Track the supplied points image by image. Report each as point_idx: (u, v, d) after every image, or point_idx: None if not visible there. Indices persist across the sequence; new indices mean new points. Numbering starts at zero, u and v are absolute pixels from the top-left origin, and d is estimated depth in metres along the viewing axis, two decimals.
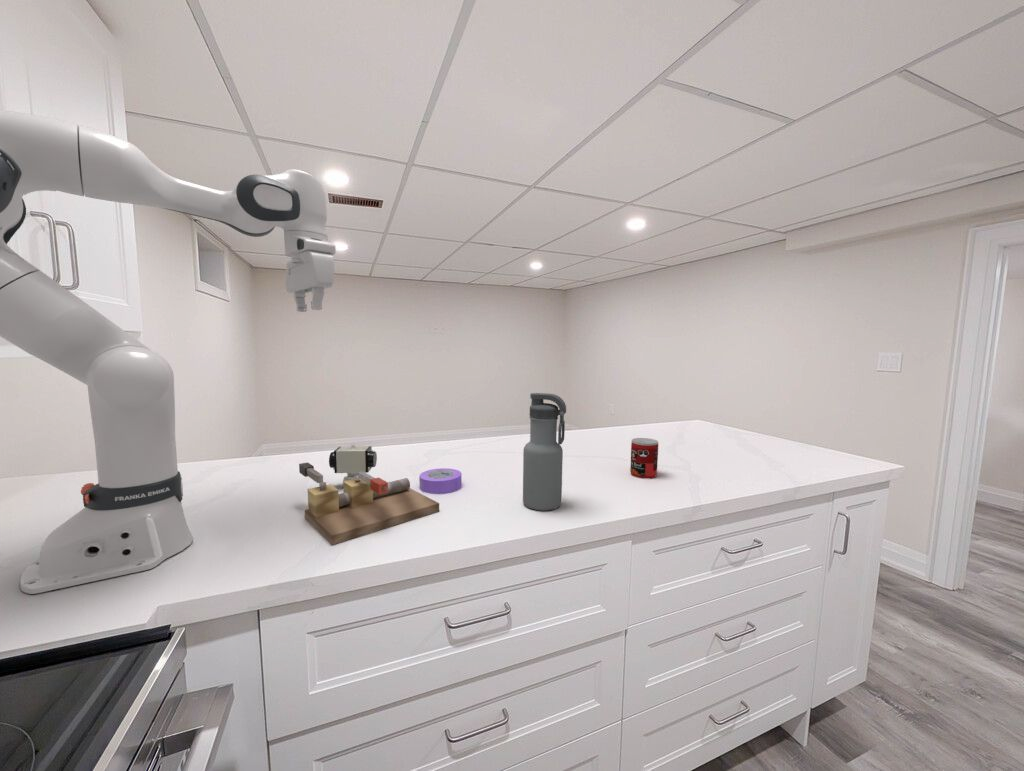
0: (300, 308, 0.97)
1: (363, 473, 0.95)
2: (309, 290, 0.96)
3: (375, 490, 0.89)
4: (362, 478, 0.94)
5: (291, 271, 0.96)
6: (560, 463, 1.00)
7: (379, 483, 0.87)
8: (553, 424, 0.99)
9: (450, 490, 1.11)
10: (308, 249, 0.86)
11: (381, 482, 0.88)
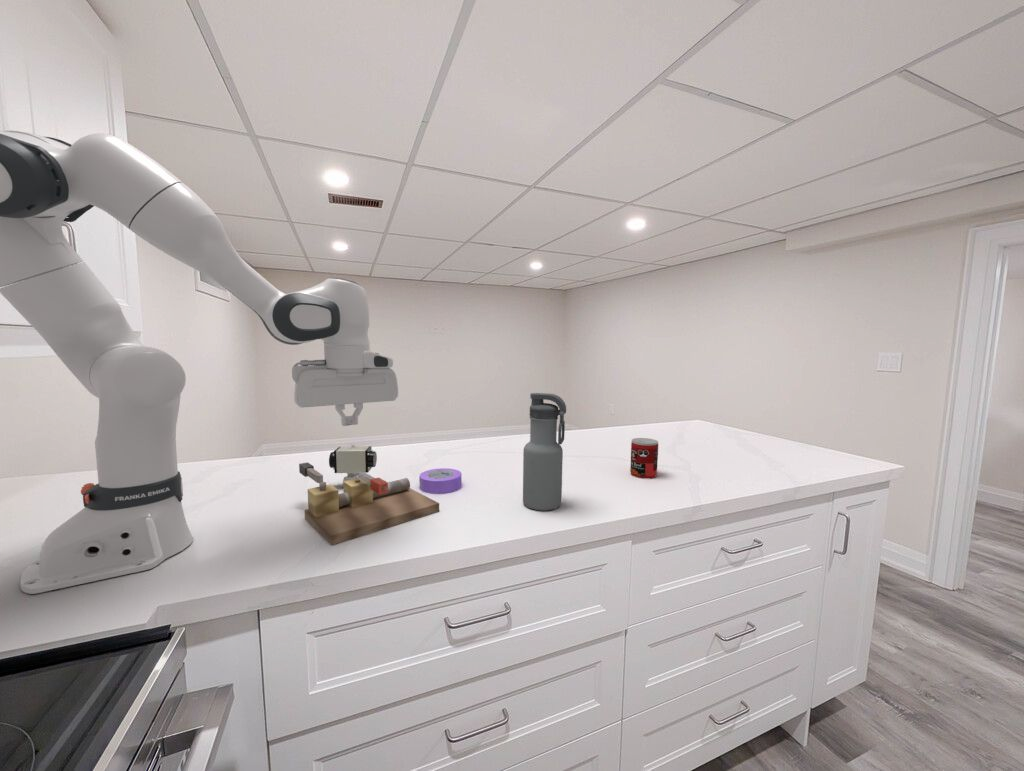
0: None
1: (363, 473, 0.95)
2: None
3: (375, 490, 0.89)
4: (362, 478, 0.94)
5: (320, 382, 0.81)
6: (560, 463, 1.00)
7: (379, 483, 0.87)
8: (553, 424, 0.99)
9: (450, 490, 1.11)
10: None
11: (381, 482, 0.88)
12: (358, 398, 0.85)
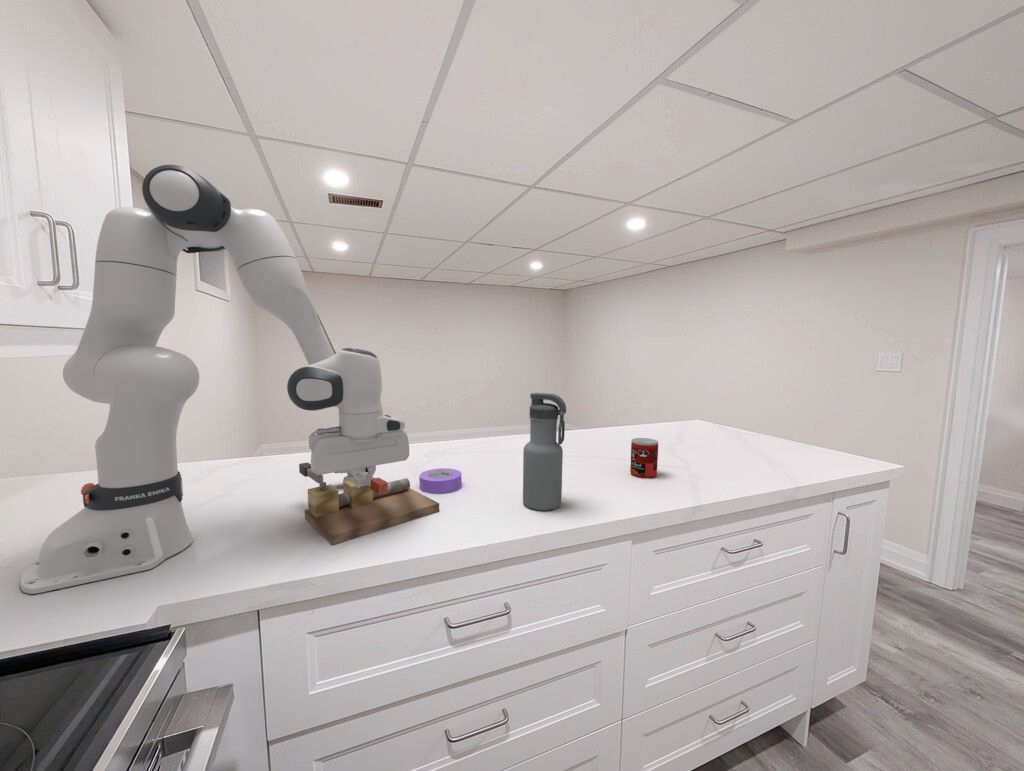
0: None
1: (363, 473, 0.95)
2: None
3: (375, 490, 0.89)
4: None
5: (335, 449, 0.84)
6: (560, 463, 1.00)
7: (379, 483, 0.87)
8: (553, 424, 0.99)
9: (450, 490, 1.11)
10: None
11: (381, 482, 0.88)
12: (371, 461, 0.88)
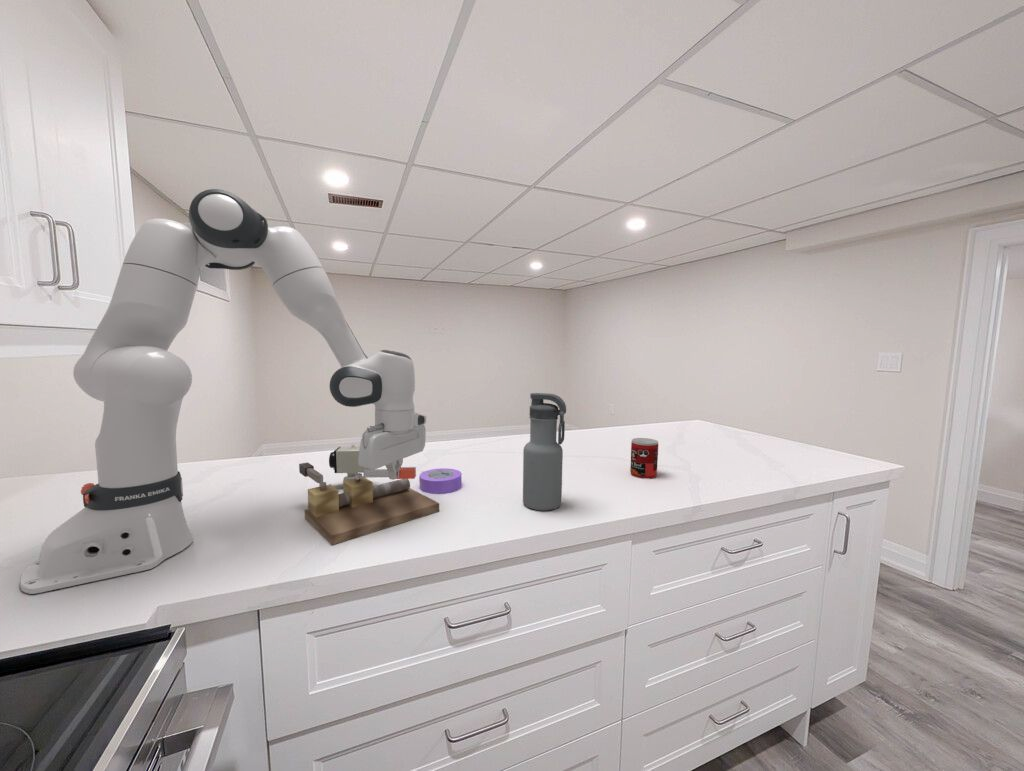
0: None
1: (371, 470, 0.98)
2: None
3: (406, 477, 0.98)
4: (374, 474, 0.97)
5: (383, 445, 0.90)
6: (560, 463, 1.00)
7: (413, 469, 0.98)
8: (553, 424, 0.99)
9: (450, 490, 1.11)
10: None
11: (411, 468, 0.98)
12: (404, 454, 0.97)
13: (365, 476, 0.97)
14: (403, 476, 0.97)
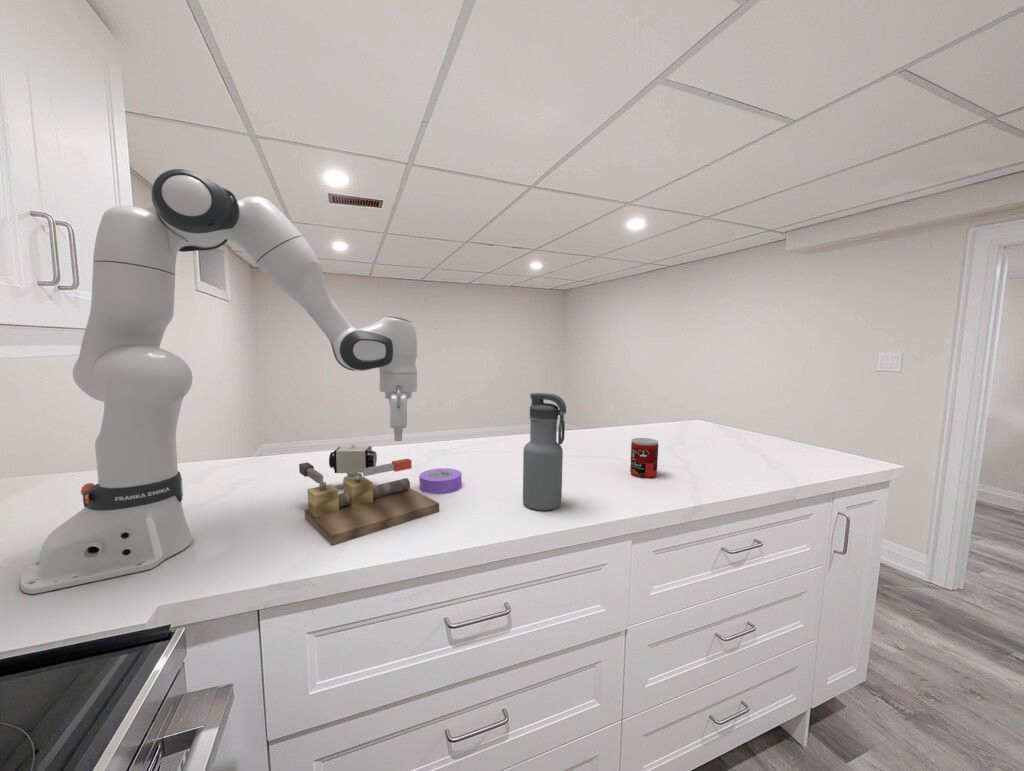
0: None
1: (370, 467, 1.00)
2: None
3: (405, 468, 1.05)
4: (375, 471, 1.00)
5: None
6: (560, 463, 1.00)
7: (409, 460, 1.06)
8: (553, 424, 0.99)
9: (450, 490, 1.11)
10: None
11: (406, 459, 1.06)
12: None
13: (366, 474, 0.98)
14: (402, 468, 1.04)
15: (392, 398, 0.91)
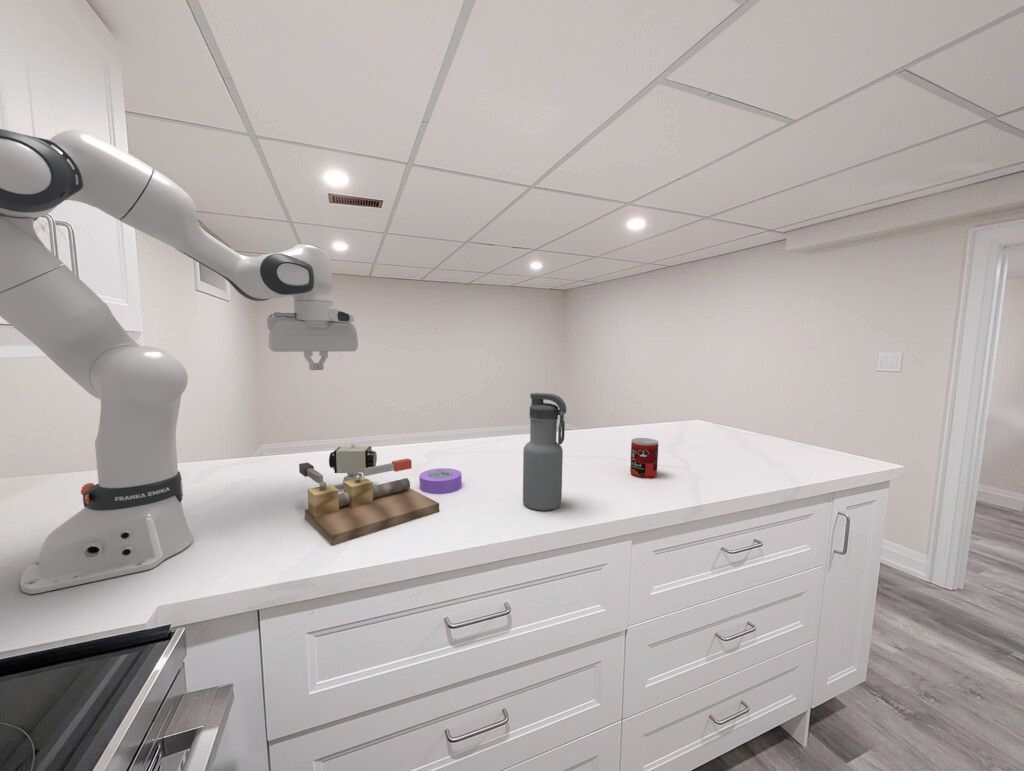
0: None
1: (370, 467, 1.00)
2: None
3: (405, 468, 1.05)
4: (375, 471, 1.00)
5: (291, 331, 0.97)
6: (560, 463, 1.00)
7: (409, 460, 1.06)
8: (553, 424, 0.99)
9: (450, 490, 1.11)
10: None
11: (406, 459, 1.06)
12: (324, 347, 1.02)
13: (366, 474, 0.98)
14: (402, 468, 1.04)
15: None
